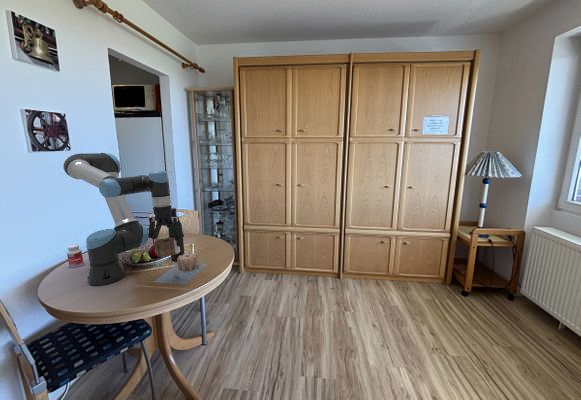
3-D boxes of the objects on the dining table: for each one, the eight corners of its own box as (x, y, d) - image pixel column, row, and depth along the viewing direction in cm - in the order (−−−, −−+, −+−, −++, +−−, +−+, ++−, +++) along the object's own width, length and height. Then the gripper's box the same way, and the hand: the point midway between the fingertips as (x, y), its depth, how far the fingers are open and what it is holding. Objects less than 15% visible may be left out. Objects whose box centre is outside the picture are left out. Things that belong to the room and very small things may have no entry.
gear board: (153, 283, 124) (152, 274, 123) (179, 263, 145) (178, 255, 144) (185, 286, 122) (184, 276, 121) (206, 265, 143) (206, 256, 142)
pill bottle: (68, 268, 140) (64, 249, 138) (70, 264, 146) (66, 245, 143) (83, 266, 144) (79, 246, 141) (84, 262, 149) (81, 243, 147)
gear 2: (174, 270, 135) (173, 257, 134) (184, 262, 144) (183, 250, 143) (192, 271, 134) (190, 258, 132) (201, 263, 143) (200, 251, 142)
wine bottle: (187, 259, 151) (183, 207, 145) (177, 264, 145) (172, 210, 139) (178, 257, 154) (173, 206, 148) (168, 261, 148) (163, 209, 142)
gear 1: (151, 256, 120) (149, 243, 119) (165, 248, 129) (163, 237, 128) (170, 257, 118) (168, 244, 117) (183, 249, 127) (181, 237, 126)
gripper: (134, 207, 118) (141, 254, 122) (179, 207, 114) (184, 256, 118) (146, 203, 126) (152, 248, 130) (189, 203, 121) (194, 250, 125)
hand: (168, 252), depth 124 cm, fingers closed on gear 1, 10 cm apart
